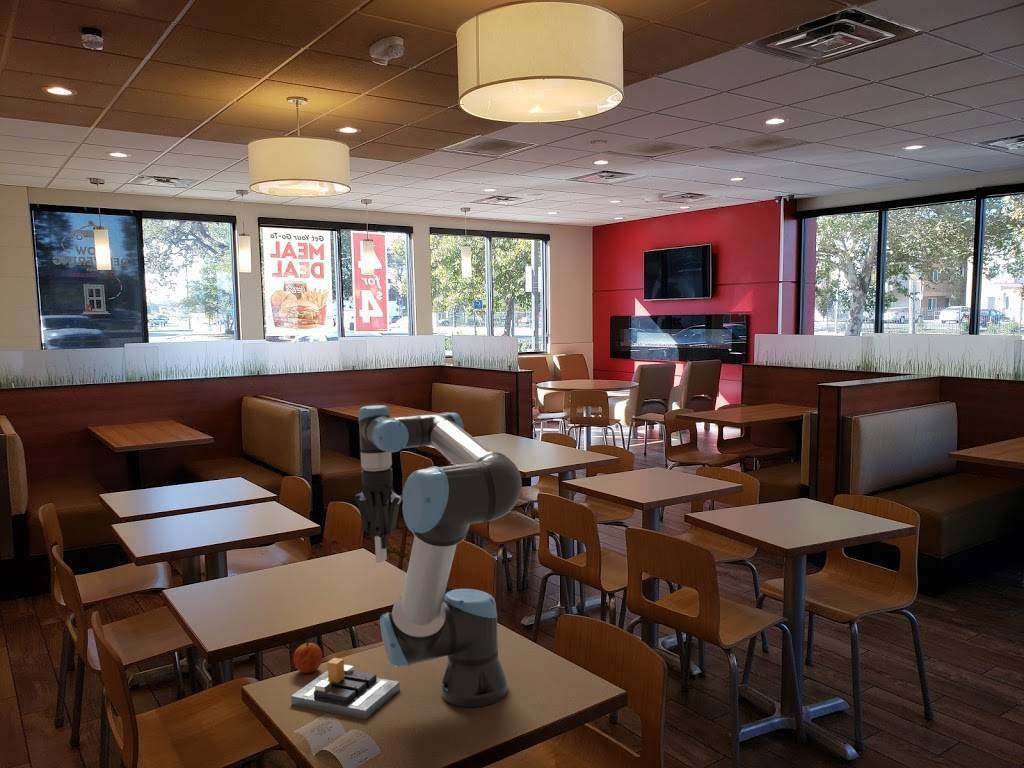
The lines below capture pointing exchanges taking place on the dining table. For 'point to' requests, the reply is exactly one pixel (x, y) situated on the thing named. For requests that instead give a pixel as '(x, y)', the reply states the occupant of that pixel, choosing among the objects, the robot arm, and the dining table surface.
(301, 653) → the fruit
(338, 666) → the block
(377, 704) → the panel
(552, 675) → the dining table surface
